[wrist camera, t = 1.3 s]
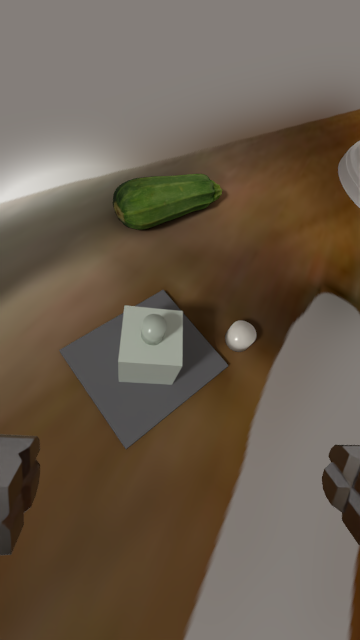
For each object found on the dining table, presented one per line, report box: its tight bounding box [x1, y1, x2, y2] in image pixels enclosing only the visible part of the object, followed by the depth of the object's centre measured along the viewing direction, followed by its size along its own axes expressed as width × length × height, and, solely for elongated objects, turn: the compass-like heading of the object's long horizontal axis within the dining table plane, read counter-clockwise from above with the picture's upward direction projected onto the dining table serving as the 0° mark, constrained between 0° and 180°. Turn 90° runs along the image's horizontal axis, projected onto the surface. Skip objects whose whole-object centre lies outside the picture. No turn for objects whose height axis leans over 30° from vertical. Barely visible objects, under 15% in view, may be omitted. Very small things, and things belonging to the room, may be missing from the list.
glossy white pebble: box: [225, 321, 256, 352], centre depth 40 cm, size 4×4×2 cm
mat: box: [59, 290, 228, 449], centre depth 37 cm, size 14×16×1 cm
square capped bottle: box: [118, 306, 183, 385], centre depth 33 cm, size 6×6×10 cm
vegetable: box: [113, 174, 222, 230], centre depth 47 cm, size 7×7×20 cm
